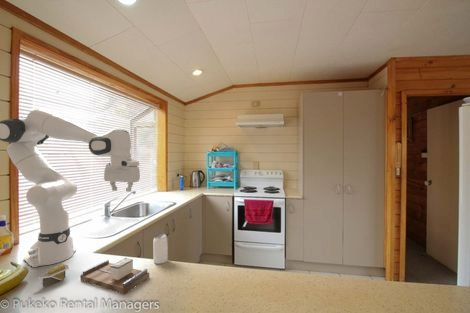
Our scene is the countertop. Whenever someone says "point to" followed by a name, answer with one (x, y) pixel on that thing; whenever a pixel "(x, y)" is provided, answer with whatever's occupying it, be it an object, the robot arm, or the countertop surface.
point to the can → (160, 249)
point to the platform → (54, 275)
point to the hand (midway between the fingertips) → (121, 191)
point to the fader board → (102, 278)
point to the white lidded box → (121, 268)
